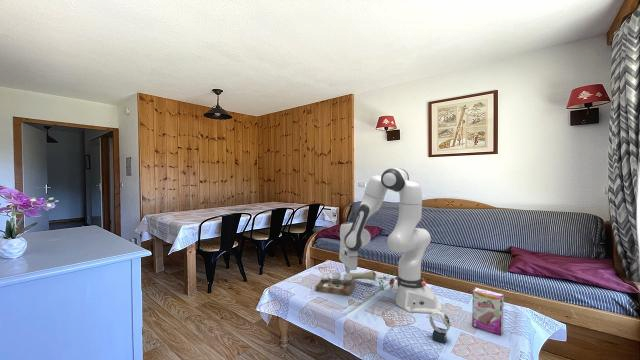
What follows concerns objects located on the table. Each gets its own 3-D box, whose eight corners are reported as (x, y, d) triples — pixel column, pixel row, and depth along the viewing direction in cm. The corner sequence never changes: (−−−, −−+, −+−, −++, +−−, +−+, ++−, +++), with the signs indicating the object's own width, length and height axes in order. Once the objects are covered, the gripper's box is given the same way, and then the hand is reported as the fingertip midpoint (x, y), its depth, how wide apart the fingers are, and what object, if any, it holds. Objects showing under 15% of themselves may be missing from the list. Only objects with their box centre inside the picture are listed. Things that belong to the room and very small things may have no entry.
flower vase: (352, 290, 182) (405, 290, 163) (342, 291, 172) (397, 291, 153) (351, 271, 186) (403, 269, 167) (341, 271, 176) (395, 268, 157)
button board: (354, 286, 170) (354, 280, 170) (349, 295, 157) (349, 289, 157) (323, 282, 177) (323, 276, 177) (315, 291, 164) (315, 285, 164)
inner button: (352, 277, 168) (352, 274, 168) (351, 280, 163) (350, 277, 163) (344, 276, 170) (344, 273, 170) (342, 279, 165) (342, 276, 165)
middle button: (341, 276, 170) (341, 273, 170) (339, 279, 166) (339, 276, 166) (333, 275, 172) (333, 272, 172) (331, 278, 167) (331, 275, 167)
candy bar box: (471, 326, 125) (472, 290, 124) (474, 322, 129) (474, 286, 128) (501, 336, 118) (501, 297, 117) (503, 331, 121) (504, 293, 121)
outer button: (330, 277, 173) (330, 274, 173) (328, 280, 168) (328, 277, 168) (322, 276, 174) (322, 273, 174) (320, 279, 170) (320, 276, 170)
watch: (449, 345, 112) (449, 318, 112) (428, 339, 117) (428, 312, 116) (451, 338, 117) (451, 312, 116) (431, 332, 121) (431, 307, 121)
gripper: (336, 245, 175) (336, 267, 176) (348, 254, 155) (348, 279, 156) (346, 244, 177) (346, 266, 177) (359, 253, 157) (359, 278, 158)
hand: (347, 272), depth 166 cm, fingers closed
